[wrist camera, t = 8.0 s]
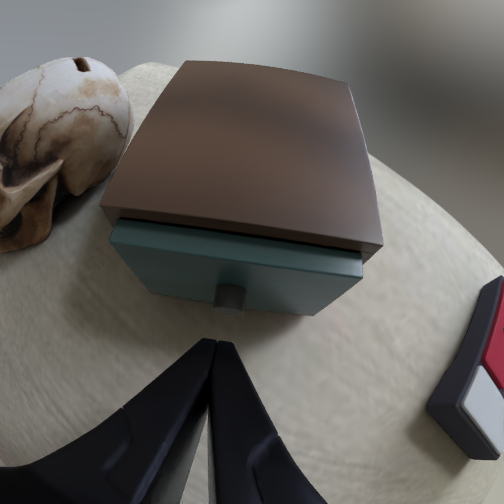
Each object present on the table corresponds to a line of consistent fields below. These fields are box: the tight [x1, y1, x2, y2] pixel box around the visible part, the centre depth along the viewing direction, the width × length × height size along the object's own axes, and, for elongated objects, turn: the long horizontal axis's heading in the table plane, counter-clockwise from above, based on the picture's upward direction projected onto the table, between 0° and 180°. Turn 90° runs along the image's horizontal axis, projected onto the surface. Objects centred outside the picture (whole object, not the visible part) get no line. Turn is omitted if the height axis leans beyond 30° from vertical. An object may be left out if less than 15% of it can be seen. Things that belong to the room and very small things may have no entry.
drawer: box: [109, 219, 363, 316], centre depth 16 cm, size 14×11×7 cm
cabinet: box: [99, 61, 383, 264], centre depth 17 cm, size 14×12×9 cm
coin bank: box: [0, 57, 134, 253], centre depth 16 cm, size 16×17×13 cm
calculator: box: [426, 275, 504, 460], centre depth 15 cm, size 11×4×15 cm
